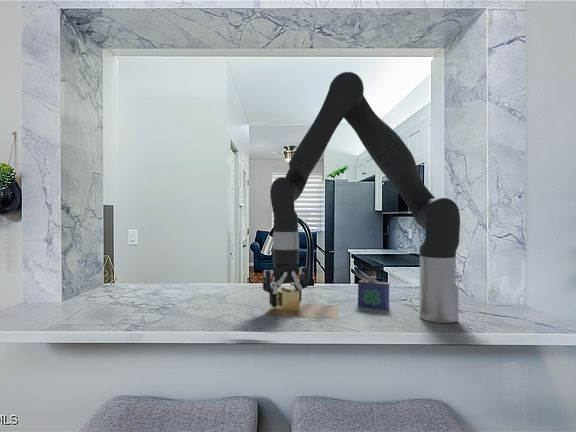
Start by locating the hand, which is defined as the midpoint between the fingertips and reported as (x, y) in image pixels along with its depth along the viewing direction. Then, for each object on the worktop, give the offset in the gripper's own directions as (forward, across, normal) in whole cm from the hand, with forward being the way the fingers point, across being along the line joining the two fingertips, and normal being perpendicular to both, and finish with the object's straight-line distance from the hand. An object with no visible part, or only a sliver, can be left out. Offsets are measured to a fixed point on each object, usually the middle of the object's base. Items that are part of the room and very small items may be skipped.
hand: (285, 304), depth 100 cm
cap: (+1, 0, 0) cm, 1 cm away
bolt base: (+3, +4, -3) cm, 6 cm away
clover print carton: (+3, +24, -11) cm, 26 cm away
